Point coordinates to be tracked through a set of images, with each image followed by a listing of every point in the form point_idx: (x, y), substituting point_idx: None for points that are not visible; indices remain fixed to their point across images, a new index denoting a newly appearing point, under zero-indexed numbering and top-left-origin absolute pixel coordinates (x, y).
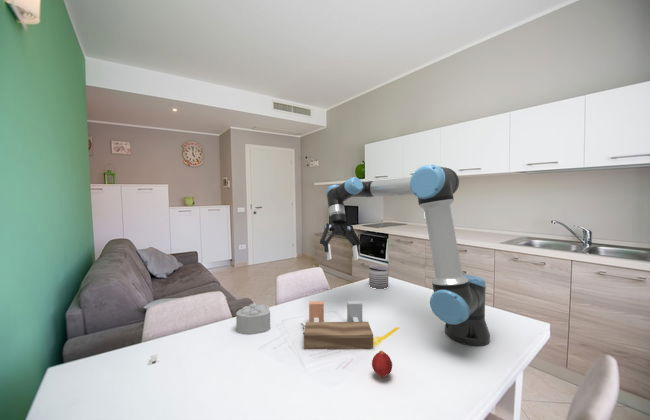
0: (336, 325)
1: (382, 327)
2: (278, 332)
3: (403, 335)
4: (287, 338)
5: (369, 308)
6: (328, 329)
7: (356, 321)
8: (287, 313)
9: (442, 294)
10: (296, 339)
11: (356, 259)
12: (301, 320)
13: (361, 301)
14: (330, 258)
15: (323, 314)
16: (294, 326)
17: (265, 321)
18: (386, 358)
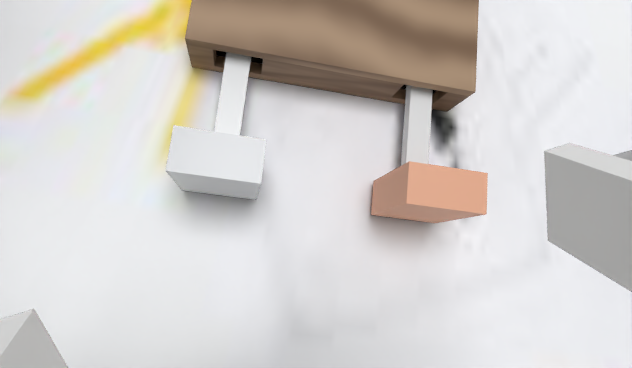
0: (345, 35)
1: (96, 113)
2: None
3: (28, 27)
4: (510, 100)
5: (72, 355)
6: (384, 9)
7: (229, 108)
8: (532, 330)
9: None
10: (478, 87)
11: (48, 334)
12: (466, 243)
13: (167, 161)
14: (564, 147)
15: (388, 173)
16: (492, 189)
17: (629, 152)
18: None
